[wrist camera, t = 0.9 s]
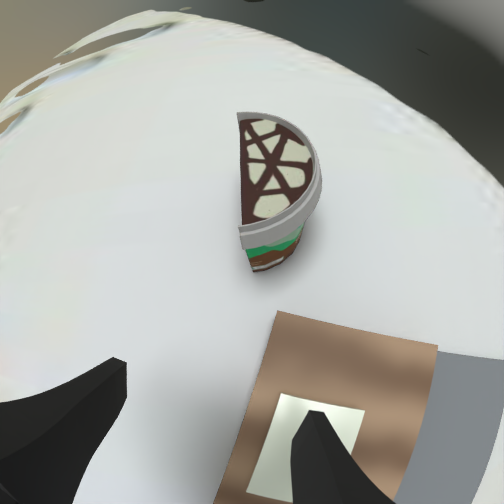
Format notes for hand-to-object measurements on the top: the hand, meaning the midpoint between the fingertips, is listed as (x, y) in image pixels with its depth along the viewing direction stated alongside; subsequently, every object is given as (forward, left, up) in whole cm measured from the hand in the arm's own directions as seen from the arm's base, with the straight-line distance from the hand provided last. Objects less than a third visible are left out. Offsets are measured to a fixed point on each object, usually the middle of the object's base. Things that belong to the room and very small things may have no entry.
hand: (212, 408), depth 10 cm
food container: (+16, +2, -14) cm, 21 cm away
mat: (-3, -21, -14) cm, 25 cm away
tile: (-3, -5, -11) cm, 12 cm away
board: (-3, -7, -14) cm, 16 cm away
